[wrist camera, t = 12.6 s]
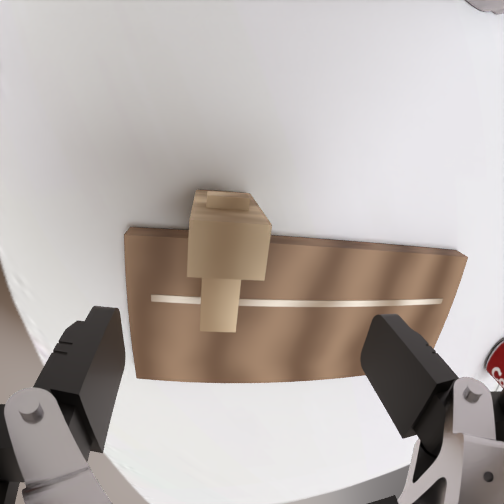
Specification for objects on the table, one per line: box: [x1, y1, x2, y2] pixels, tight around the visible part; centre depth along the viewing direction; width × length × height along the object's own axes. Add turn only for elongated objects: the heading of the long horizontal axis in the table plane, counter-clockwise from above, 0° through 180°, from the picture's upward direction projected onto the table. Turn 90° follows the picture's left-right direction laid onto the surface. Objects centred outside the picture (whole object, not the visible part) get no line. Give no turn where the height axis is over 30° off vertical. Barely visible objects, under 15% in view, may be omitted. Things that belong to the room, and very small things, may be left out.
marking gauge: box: [187, 190, 272, 332], centre depth 20 cm, size 4×9×8 cm, turn 174°
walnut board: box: [124, 227, 468, 383], centre depth 27 cm, size 32×14×2 cm, turn 84°
